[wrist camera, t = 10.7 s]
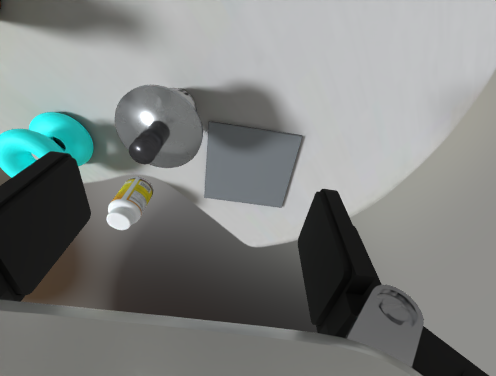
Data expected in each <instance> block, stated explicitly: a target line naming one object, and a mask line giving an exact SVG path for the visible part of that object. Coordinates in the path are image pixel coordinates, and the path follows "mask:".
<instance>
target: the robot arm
mask: <svg viewBox="0 0 496 376" xmlns="http://www.w3.org/2000/svg"><path fill="white" fill-rule="evenodd" d="M90 215H91V211H90V207H89V204H88V200H87V196H86V193H85V189H84V186H83V182H82V179H81V175H80V171H79V168H78V164H77V161H76V159H75V158H72V156H71V155H70V154H68V153H62V152H55V151H50V152H48V153H47V154H45V155H44V156H42V157H41V158H40V159H38V160H37V161H35V162H34V163H32V164H31V165H29V166H28V167H27V168H25V169H24V170H22V171H21V172H19V173H18V174H17V175H15V176H14V177H12V178H11V179H9V180H8V181H7V182H5V183H4V184H2V185H1V186H0V376H489V375H487V374H486V373H485V372H483V371H482V370H481V369H479V368H478V367H477V366H475V365H474V364H473V363H471V362H470V361H469V360H467V359H466V358H465V357H463V356H462V355H461V354H459V353H458V352H457V351H456V350H454V349H453V348H452V347H450V346H449V345H448V344H446V343H445V342H444V341H442V340H441V339H440V338H438V337H437V336H436V335H434V334H433V333H432V332H431V331H429V330H428V329H426V328H425V327H424V326H423V323H424V322H423V321H424V319H423V315H422V312H421V310H420V309H419V307H418V305H417V304H416V303H415V302H414V301H413V299H412V298H411V297H410V296H408V295H407V294H406V293H404V292H403V291H401V290H400V289H398V288H396V287H393V286H390V285H382V284H381V282H380V280H379V278H378V276H377V273H376V271H375V269H374V267H373V265H372V263H371V260H370V258H369V256H368V254H367V252H366V249H365V247H364V245H363V243H362V240H361V238H360V236H359V234H358V231H357V230H356V228H355V227H354V226H353V225H352V222H351V220H350V218H349V216H348V213H347V211H346V209H345V207H344V204H343V202H342V200H341V198H340V195H339V193H338V192H337V191H335V190H328V189H322V190H321V191H320V192H316V194H315V196H314V199H313V201H312V204H311V207H310V209H309V212H308V214H307V217H306V220H305V222H304V225H303V228H302V230H301V233H300V236H299V238H298V248H299V255H300V260H301V266H302V272H303V278H304V283H305V289H306V295H307V301H308V306H309V311H310V317H311V322H312V324H313V325H316V327H317V332H318V333H313V332H304V331H296V330H288V329H280V328H272V327H264V326H255V325H245V324H236V323H226V322H217V321H208V320H198V319H189V318H179V317H170V316H159V315H150V314H140V313H130V312H120V311H111V310H100V309H91V308H81V307H70V306H60V305H50V304H38V303H29V302H21V300H22V299H23V298H24V296H25V295H28V294H30V293H32V291H33V290H34V289H35V288H36V287H37V285H38V284H39V283H40V282H41V280H42V279H43V278H44V276H45V275H46V274H47V273H48V271H49V270H50V269H51V268H52V266H53V265H54V264H55V262H56V261H57V260H58V259H59V257H60V256H61V255H62V254H63V252H64V251H65V250H66V248H67V247H68V246H69V245H70V243H71V242H72V241H73V240H74V238H75V237H76V236H77V234H78V233H79V232H80V230H81V229H82V228H83V227H84V226H85V224H86V223H87V222H88V220H89V219H90Z"/></svg>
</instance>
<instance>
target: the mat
mask: <svg viewBox="0 0 496 376" xmlns="http://www.w3.org/2000/svg"><path fill="white" fill-rule="evenodd" d="M301 139H302V135H296V134H289V133H282V132H276V131H269V130H263V129H256V128H249V127H243V126H236V125H230V124H223V123H217V122H210V121H209V128H208V145H207V161H206V177H205V194H204V198H211V199H219V200H227V201H234V202H242V203H249V204H257V205H264V206H272V207H279V208H281V207H282V204H283V200H284V197H285V194H286V190H287V187H288V183H289V180H290V177H291V173H292V170H293V166H294V163H295V160H296V156H297V153H298V149H299V146H300V142H301Z"/></svg>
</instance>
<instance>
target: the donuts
mask: <svg viewBox="0 0 496 376" xmlns="http://www.w3.org/2000/svg"><path fill="white" fill-rule="evenodd" d="M53 137H55V138H58V139H59V140H61V141H62V142H63V143H64V145H65V147H66V149H64V148H62V147H60V146H59V145H58V144H57V143H56V142H55V141H54V139H53ZM50 151H55V152H62V153H68V154H70V155H71V156H72V158H75V159H76V161H77V164H78V166H81V165H83V164H85V163H86V162H88V161H89V160H90V158H91V156H92V154H93V141H92V139H91V136H90V135H89V133H88V131H87V130H86V129H85V128H84V127H83V126H82V125H81V124H80V123H79V122H78V121H76V120H75V119H73V118H71V117H69V116H67V115H64V114H61V113H56V112H47V113H42V114H40V115H38V116H36V117H35V118H34V119H33V120H32V121H31V123H30V126H29V130H28V129H12V130H8V131H5V132H3V133H2V134H0V167H1V168H2V169H3V171H5V173H7V174H8V175H9V176H10V177H11V178H12V177H14V176H15V175H17V174H18V173H19V172H21V171H22V170H24V169H25V168H27V167H28V166H29V165H31V164H32V163H34V162H35V161H37V160H36V159H35V158H34V157H33V156H32V154H31V153H33V154H34V155H36V156H37V157H38V158H41V157H42V156H44V155H45V154H47V153H48V152H50Z"/></svg>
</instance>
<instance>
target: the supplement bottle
mask: <svg viewBox="0 0 496 376" xmlns="http://www.w3.org/2000/svg"><path fill="white" fill-rule="evenodd" d="M152 194H153V187H152V185H151V184H150V183H149V182H148V181H147V180H146V179H144V178H140V177H132V178H130V179H128V180H127V181H126V182H125V184H124V185H123V187H122V188H121V189H120V191H119V192H118V194H117V195H116V196H115V198H114V199H113V200H112V202H111V203H110V204H109V207H108V212H109V214H108V216H107V222H108V224H109V225H110V226H111V227H113V228H115V229H118V230H125V229H128V228H129V227H130V225H131V224H133V223H136V222H137V221H138V220H139V218H140V217H141V215H142V213H143V211H144V210H145V208H146V206H147V204H148V202H149V200H150V198H151V196H152Z"/></svg>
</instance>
